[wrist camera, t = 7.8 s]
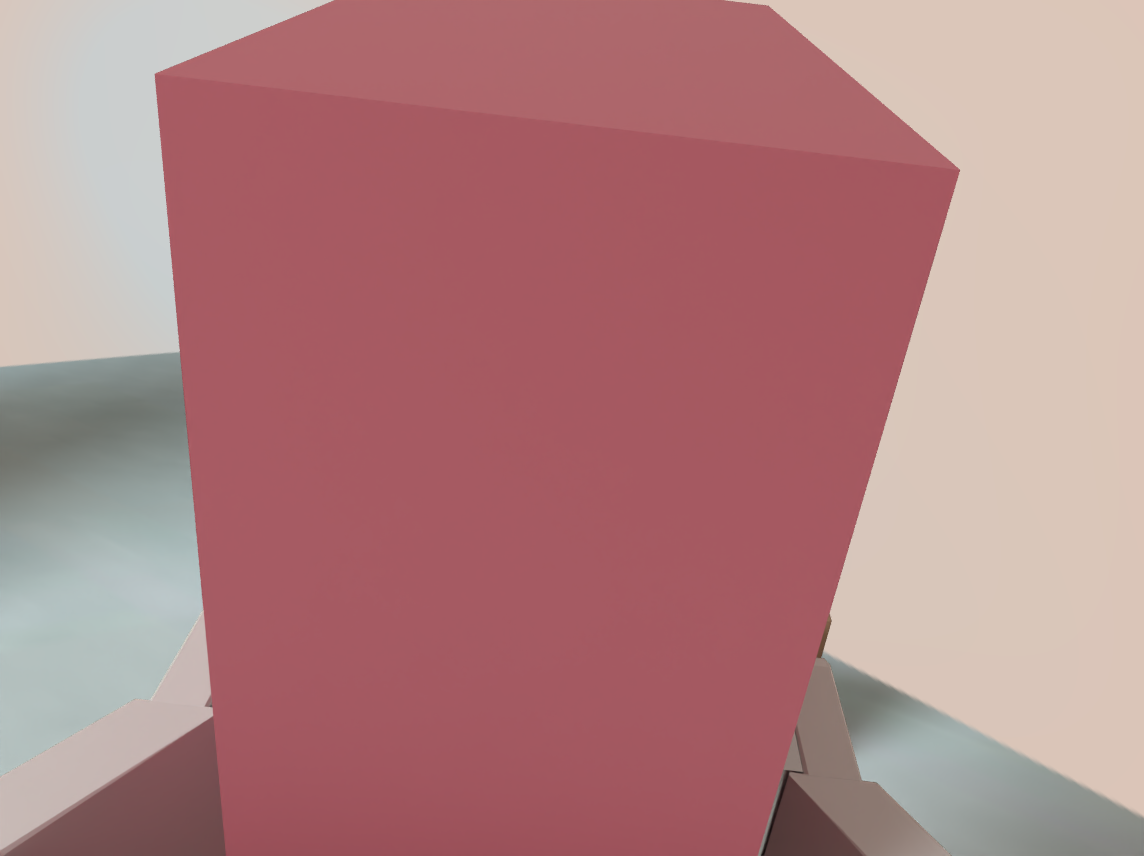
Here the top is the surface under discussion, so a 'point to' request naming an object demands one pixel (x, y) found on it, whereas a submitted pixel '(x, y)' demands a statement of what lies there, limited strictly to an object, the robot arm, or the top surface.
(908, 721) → the top surface
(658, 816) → the red rectangular block
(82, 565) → the top surface
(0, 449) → the top surface
